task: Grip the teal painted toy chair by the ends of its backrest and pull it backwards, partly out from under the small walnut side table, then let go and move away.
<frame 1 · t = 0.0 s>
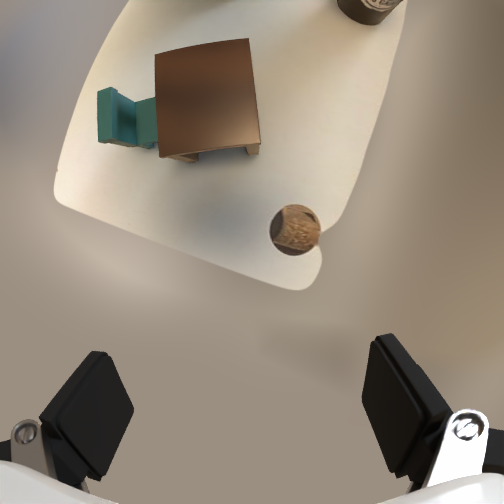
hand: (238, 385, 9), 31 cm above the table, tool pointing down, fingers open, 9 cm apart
chair: (171, 125, 35), on the table
water bottle: (360, 7, 29), on the table
side table: (219, 117, 35), on the table
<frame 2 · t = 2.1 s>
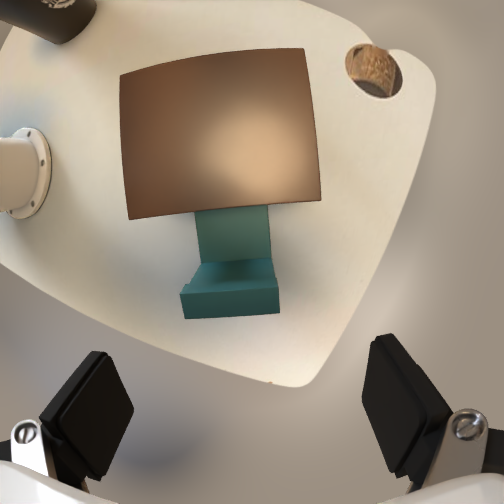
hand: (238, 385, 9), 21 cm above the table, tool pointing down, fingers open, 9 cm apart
chair: (236, 215, 28), on the table
water bottle: (72, 20, 21), on the table
side table: (229, 148, 26), on the table
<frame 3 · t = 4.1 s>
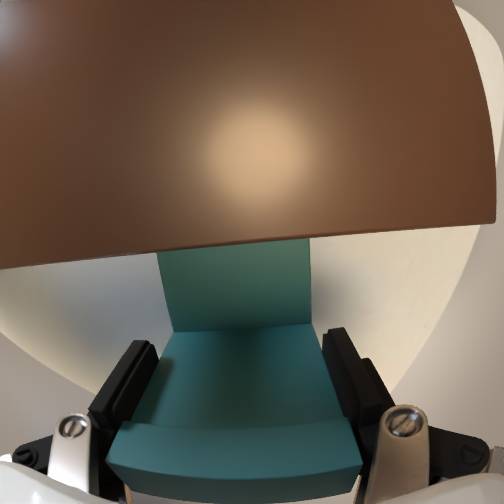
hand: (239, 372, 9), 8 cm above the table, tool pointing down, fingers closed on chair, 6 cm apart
chair: (240, 232, 16), on the table, touching gripper
side table: (228, 113, 14), on the table
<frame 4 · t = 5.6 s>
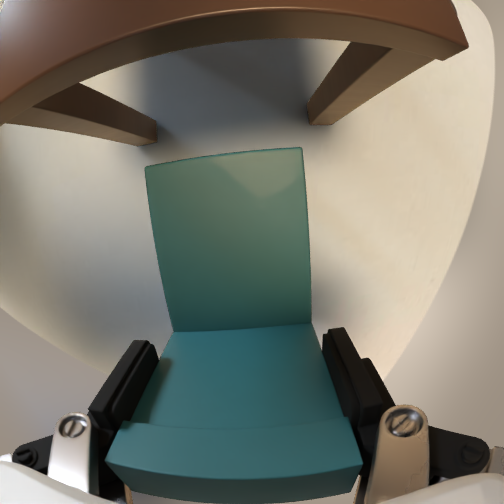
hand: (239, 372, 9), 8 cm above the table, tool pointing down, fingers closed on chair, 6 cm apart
chair: (240, 231, 16), on the table, touching gripper
side table: (225, 58, 14), on the table
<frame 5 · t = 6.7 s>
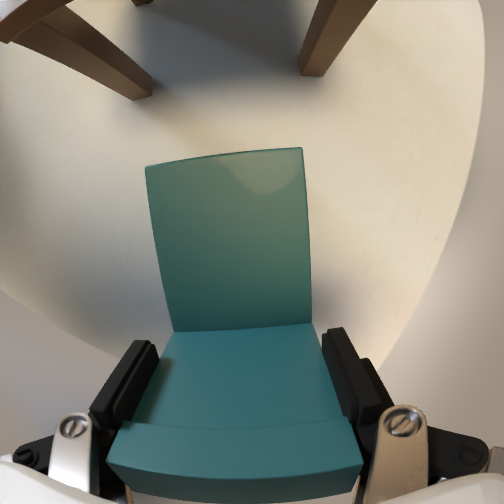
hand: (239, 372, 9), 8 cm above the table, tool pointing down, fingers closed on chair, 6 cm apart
chair: (240, 231, 16), on the table, touching gripper
side table: (219, 20, 13), on the table
when the fingers open (8 cm above the table, at t = 7.0 s): chair stays where it is, on the table.
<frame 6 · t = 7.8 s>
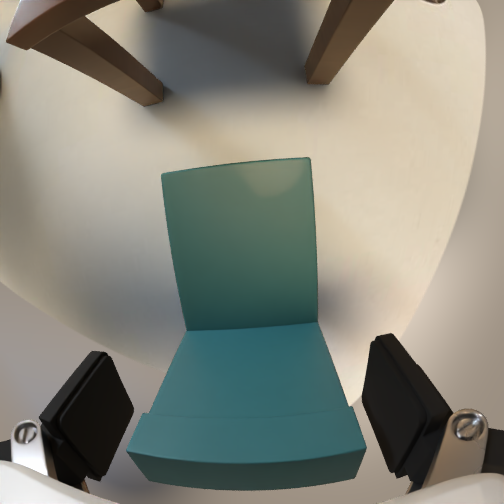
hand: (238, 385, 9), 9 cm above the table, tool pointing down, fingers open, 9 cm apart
chair: (249, 235, 17), on the table
side table: (227, 28, 13), on the table
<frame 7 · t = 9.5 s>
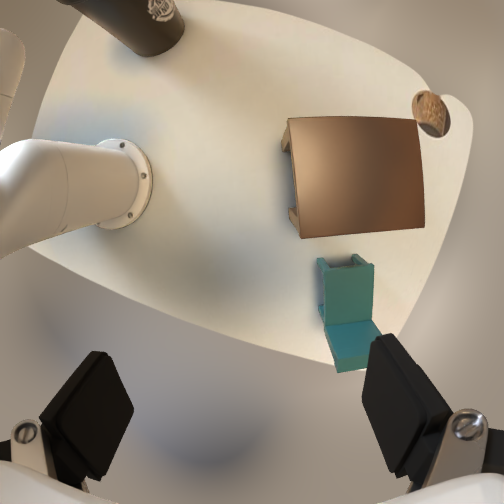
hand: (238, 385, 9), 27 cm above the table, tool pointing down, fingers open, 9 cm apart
chair: (338, 283, 36), on the table
water bottle: (157, 34, 28), on the table
side table: (332, 176, 32), on the table
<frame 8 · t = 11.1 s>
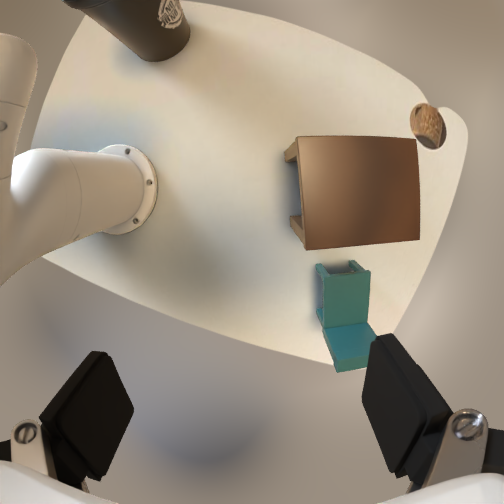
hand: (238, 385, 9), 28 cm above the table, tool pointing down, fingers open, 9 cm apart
chair: (335, 287, 38), on the table
water bottle: (162, 39, 29), on the table
side table: (332, 186, 34), on the table
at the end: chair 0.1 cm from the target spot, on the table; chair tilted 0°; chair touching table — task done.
